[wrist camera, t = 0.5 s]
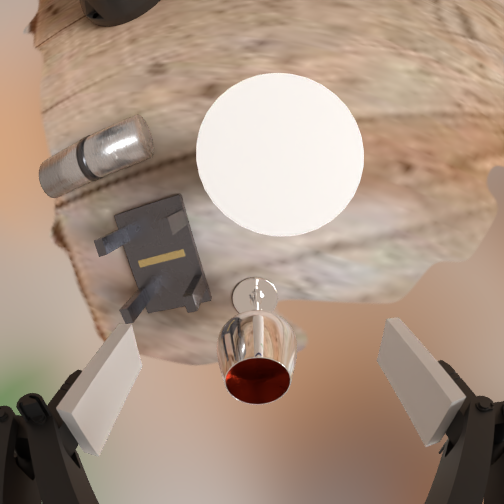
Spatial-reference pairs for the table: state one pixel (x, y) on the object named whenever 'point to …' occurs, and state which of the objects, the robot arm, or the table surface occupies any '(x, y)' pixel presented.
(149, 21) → the table surface
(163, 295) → the rail
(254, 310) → the wineglass
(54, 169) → the tube
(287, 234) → the cylindrical container
